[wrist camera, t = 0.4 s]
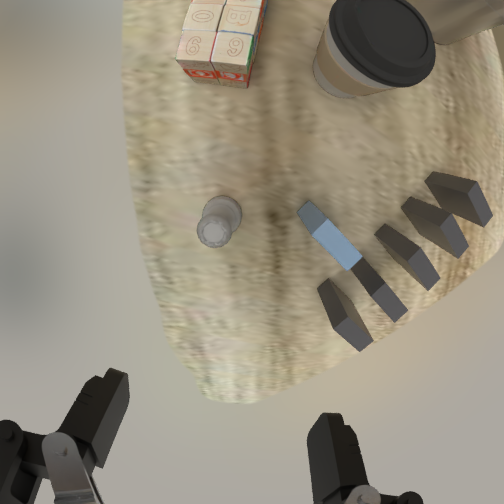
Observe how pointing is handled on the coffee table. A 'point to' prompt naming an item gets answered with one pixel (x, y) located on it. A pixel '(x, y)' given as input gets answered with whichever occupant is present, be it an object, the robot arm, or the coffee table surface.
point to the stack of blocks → (221, 40)
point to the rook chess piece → (219, 221)
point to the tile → (329, 236)
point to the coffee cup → (373, 48)
